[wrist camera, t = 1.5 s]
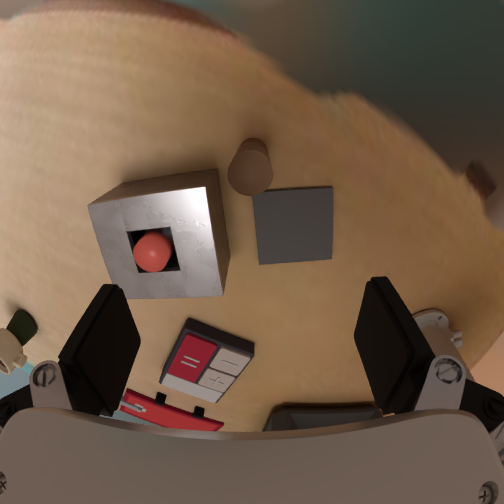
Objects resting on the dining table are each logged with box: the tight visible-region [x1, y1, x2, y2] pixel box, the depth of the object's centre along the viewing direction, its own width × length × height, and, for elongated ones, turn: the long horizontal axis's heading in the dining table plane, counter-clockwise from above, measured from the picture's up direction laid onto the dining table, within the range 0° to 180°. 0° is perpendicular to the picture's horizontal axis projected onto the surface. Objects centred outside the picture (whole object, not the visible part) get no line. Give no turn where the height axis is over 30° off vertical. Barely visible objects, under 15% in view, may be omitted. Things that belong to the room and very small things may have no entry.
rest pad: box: [253, 187, 333, 265], centre depth 33 cm, size 9×9×1 cm
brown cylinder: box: [228, 138, 273, 196], centre depth 24 cm, size 3×3×12 cm
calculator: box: [159, 318, 254, 403], centre depth 43 cm, size 11×4×15 cm
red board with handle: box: [120, 389, 224, 431], centre depth 52 cm, size 30×3×15 cm
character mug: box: [0, 310, 37, 375], centre depth 37 cm, size 11×7×13 cm, turn 70°
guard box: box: [87, 169, 230, 299], centre depth 29 cm, size 12×11×8 cm
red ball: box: [133, 227, 175, 272], centre depth 26 cm, size 3×3×3 cm
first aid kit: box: [264, 405, 383, 432], centre depth 45 cm, size 25×25×25 cm
